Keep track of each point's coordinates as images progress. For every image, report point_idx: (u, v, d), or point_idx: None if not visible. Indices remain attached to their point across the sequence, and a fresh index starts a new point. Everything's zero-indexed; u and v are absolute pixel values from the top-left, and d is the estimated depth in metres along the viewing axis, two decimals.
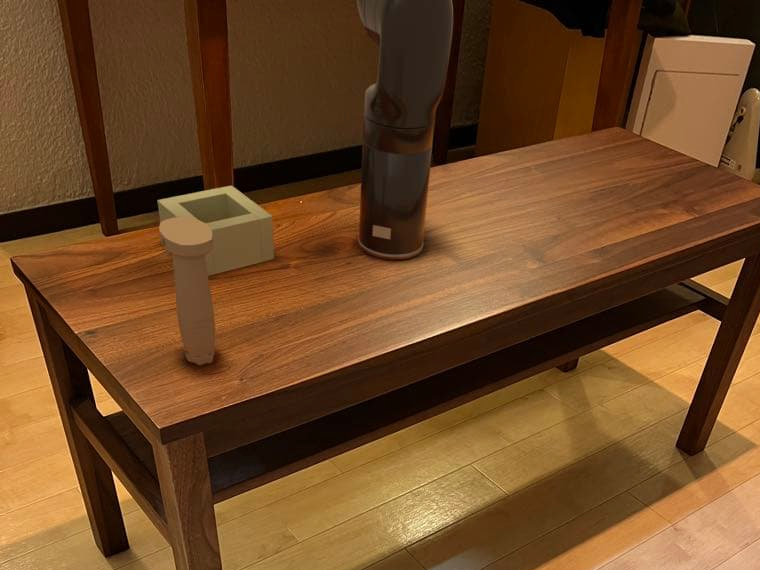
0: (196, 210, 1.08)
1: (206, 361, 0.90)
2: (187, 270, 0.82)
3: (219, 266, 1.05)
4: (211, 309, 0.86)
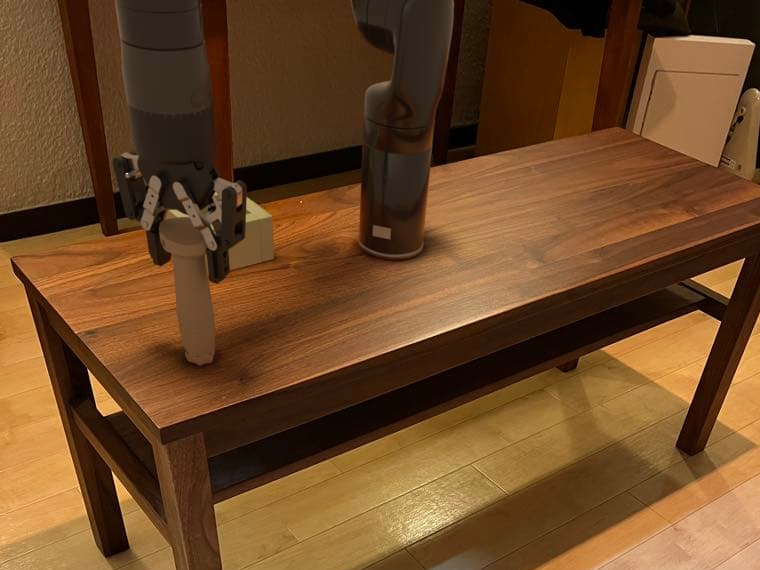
0: None
1: (206, 361, 0.90)
2: (187, 270, 0.82)
3: None
4: (211, 309, 0.86)
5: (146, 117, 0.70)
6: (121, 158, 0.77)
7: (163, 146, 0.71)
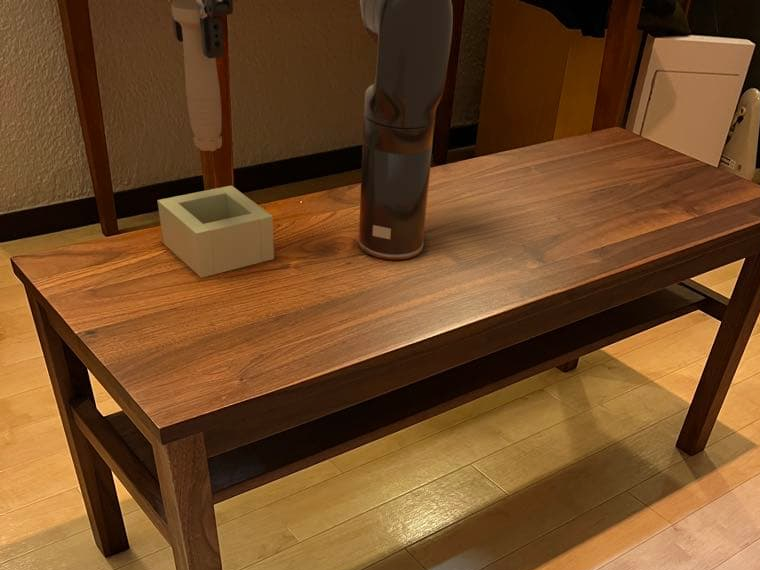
0: (196, 210, 1.08)
1: (208, 148, 0.96)
2: (188, 41, 0.88)
3: (219, 266, 1.05)
4: (213, 92, 0.92)
5: None
6: None
7: None
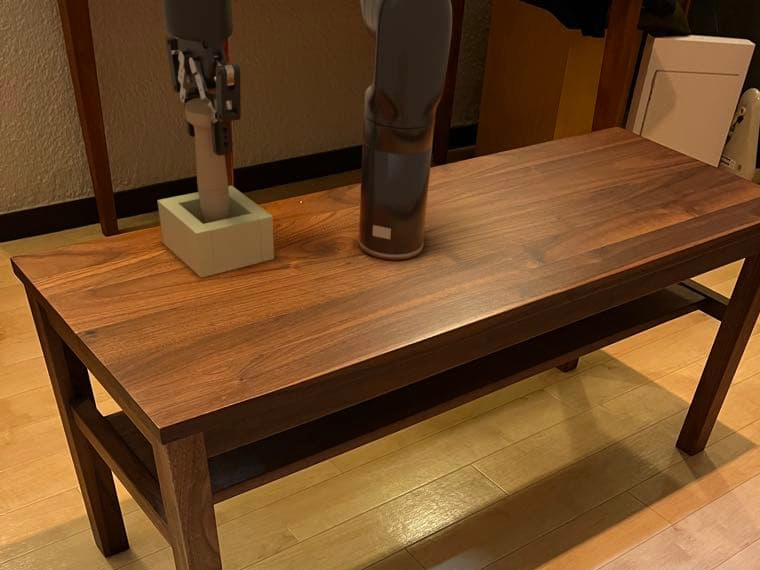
0: (196, 210, 1.08)
1: None
2: (200, 139, 0.98)
3: (219, 266, 1.05)
4: (222, 182, 1.01)
5: None
6: (171, 37, 0.95)
7: (175, 21, 0.87)
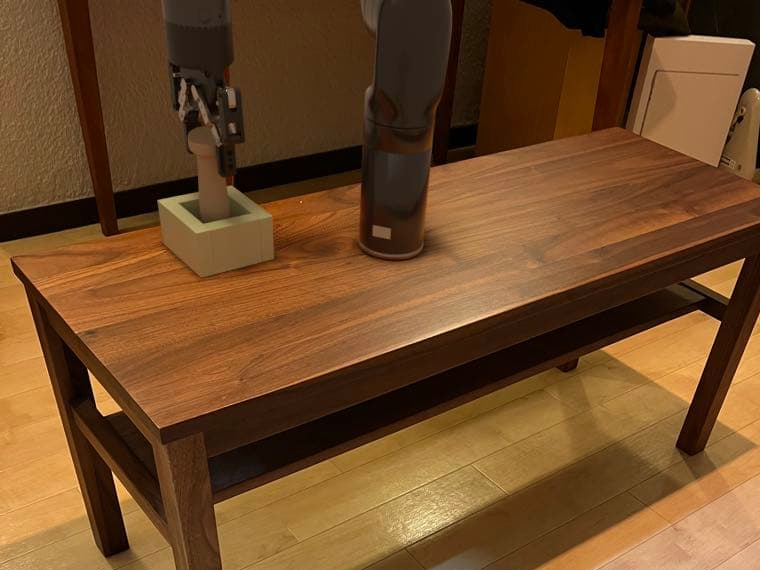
0: (196, 210, 1.08)
1: None
2: (202, 168, 1.00)
3: (219, 266, 1.05)
4: (223, 208, 1.04)
5: (168, 25, 0.88)
6: None
7: (177, 51, 0.89)
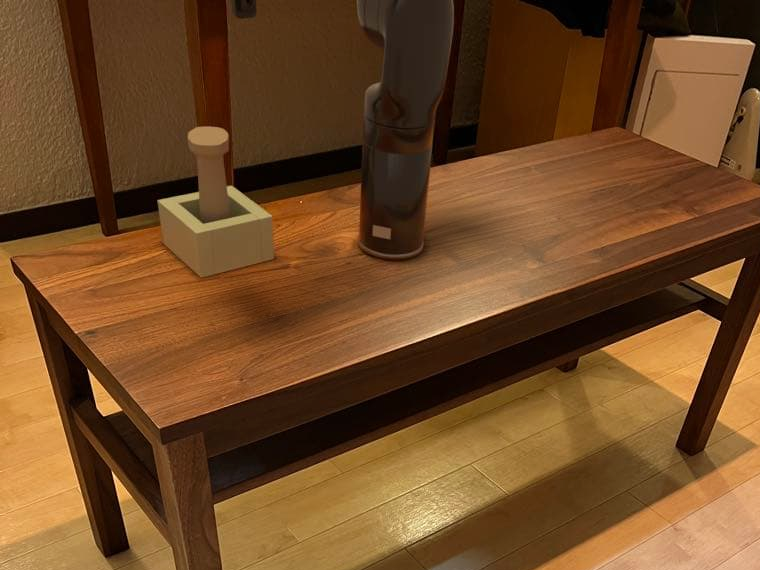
0: (196, 210, 1.08)
1: None
2: (202, 168, 1.00)
3: (219, 266, 1.05)
4: (223, 208, 1.04)
5: None
6: None
7: None
